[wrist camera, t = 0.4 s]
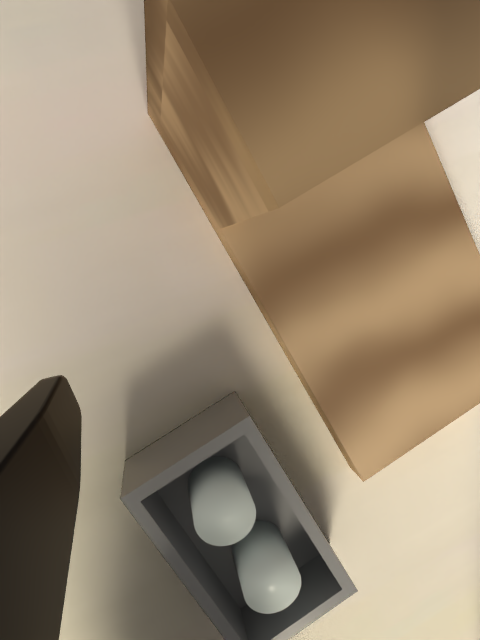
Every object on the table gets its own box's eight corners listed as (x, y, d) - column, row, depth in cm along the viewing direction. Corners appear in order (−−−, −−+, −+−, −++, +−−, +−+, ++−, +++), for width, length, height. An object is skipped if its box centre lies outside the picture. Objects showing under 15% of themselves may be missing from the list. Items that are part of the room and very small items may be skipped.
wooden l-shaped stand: (505, 363, 25) (759, 442, 15) (350, 467, 24) (502, 632, 14) (348, 1, 21) (558, -268, 10) (147, 112, 20) (142, -54, 9)
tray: (329, 544, 25) (360, 595, 21) (233, 611, 24) (248, 674, 21) (234, 391, 22) (251, 418, 19) (125, 460, 22) (119, 503, 18)
